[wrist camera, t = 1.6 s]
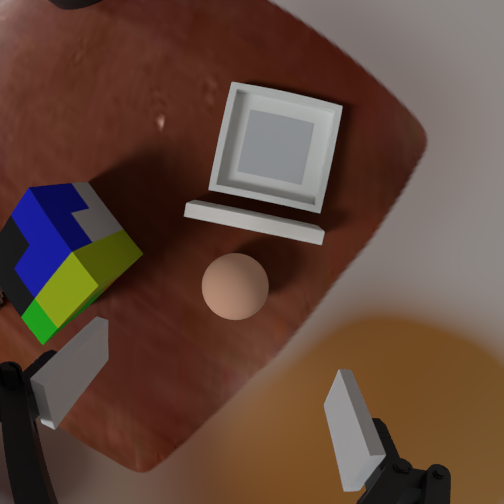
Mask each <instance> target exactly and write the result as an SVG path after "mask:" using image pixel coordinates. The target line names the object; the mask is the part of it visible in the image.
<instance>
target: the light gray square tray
mask: <svg viewBox="0 0 504 504" xmlns="http://www.w3.org/2000/svg"><path fill="white" fill-rule="evenodd" d="M342 107H343V106H340V105H336V104H333V103H329V102H326V101H322V100H318V99H314V98H310V97H306V96H302V95H298V94H293V93H289V92H284V91H280V90H275V89H270V88H265V87H260V86H254V85H248V84H242V83H236V82H232V83H231V87H230V91H229V95H228V100H227V104H226V108H225V113H224V117H223V121H222V126H221V130H220V135H219V140H218V144H217V149H216V154H215V159H214V164H213V169H212V174H211V179H210V184H209V189H208V190H212V191H217V192H222V193H227V194H232V195H237V196H242V197H247V198H252V199H257V200H262V201H266V202H271V203H276V204H280V205H285V206H289V207H294V208H298V209H303V210H307V211H311V212H316V213H320V212H321V208H322V204H323V199H324V195H325V191H326V186H327V182H328V177H329V172H330V168H331V163H332V158H333V153H334V149H335V144H336V139H337V134H338V128H339V123H340V118H341V113H342Z"/></svg>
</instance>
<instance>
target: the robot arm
mask: <svg viewBox="0 0 504 504" xmlns="http://www.w3.org/2000/svg"><path fill="white" fill-rule="evenodd" d="M48 1H50V2H51V3H53V4H54V5H55V6H57V7H59V8H61V9H67V10H71V9H78V8H83V7H86V6H89V5H91V4H94V3H96V2H98V1H100V0H48ZM107 361H108V320H106V319H103V318H99V317H95V318H94V319H93V320H92V321H91V322H90V323H89V324H88V325H87V326H86V327H84V328H83V329H82V330H81V331H80V332H79V333H78V334H77V335H76V336H75V337H74V338H72V339H71V340H70V341H69V342H68V343H67V344H66V345H65V346H64V347H63V348H62V349H61V350H60V351H59V352H56V351H54V350H50V351H47V352H45V353H43V354H42V355H41V356H40V357H39V358H38V359H36V360H35V361H34V362H33V363H32V364H31V365H30V366H29V367H28V368H27V369H26V370H24V371H23V372H22V369H21V366H20V365H19V364H17V363H15V362H10V361H8V362H3V363H1V364H0V422H2V432H3V442H4V450H5V457H6V463H7V469H8V474H9V480H10V484H11V489H12V494H13V498H14V502H15V504H58V501H57V498H56V496H55V492H54V489H53V487H52V483H51V480H50V477H49V473H48V470H47V466H46V463H45V459H44V455H43V452H42V447H41V443H40V438H39V434H38V429H37V424H36V421H35V419H36V418H37V417H38V416H39V415H40V419H41V422H42V423H43V424H45V425H47V426H49V427H50V428H52V429H56V427H57V426H58V425H59V423H60V422H61V421H62V419H63V418H64V417H65V415H66V414H67V413H68V411H69V410H70V409H71V407H72V406H73V405H74V403H75V402H76V401H77V399H78V398H79V397H80V395H81V394H82V393H83V391H84V390H85V389H86V388H87V386H88V385H89V384H90V382H91V381H92V380H93V378H94V377H95V376H96V375H97V373H98V372H99V371H100V370H101V368H102V367H103V366H104V364H105V363H106V362H107ZM324 408H325V412H326V417H327V421H328V425H329V429H330V433H331V437H332V441H333V446H334V450H335V454H336V459H337V463H338V468H339V472H340V476H341V481H342V485H343V490H344V492H346V491H359V490H360V489H361V488H362V486H363V485H364V484H365V487H366V491H365V493H364V494H363V495H362V496H361V497H360V498H359V499H358V501H357V503H356V504H450V490H451V487H450V486H451V475H450V472H449V470H448V469H447V468H446V467H444V466H442V465H440V464H434V465H431V466H430V467H429V468H428V470H419V469H414V468H413V467H412V465H411V464H410V463H409V462H408V461H406V460H405V459H402V458H400V457H399V455H398V452H397V450H396V448H395V445H394V443H393V440H392V439H391V436H390V434H389V431H388V429H387V427H386V425H385V424H384V423H383V422H382V421H381V420H380V419H379V418H371V416H370V413H369V411H368V409H367V406H366V404H365V401H364V399H363V397H362V395H361V392H360V390H359V387H358V385H357V383H356V380H355V378H354V375H353V373H352V371H351V370H344V369H339V370H338V373H337V375H336V378H335V380H334V383H333V385H332V387H331V389H330V392H329V394H328V396H327V399H326V401H325V403H324Z"/></svg>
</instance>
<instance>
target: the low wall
mask: <svg viewBox="0 0 504 504" xmlns="http://www.w3.org/2000/svg"><path fill="white" fill-rule="evenodd" d="M184 217H189V218H194V219H199V220H204V221H209V222H214V223H219V224H224V225H229V226H234V227H238V228H243V229H248V230H253V231H258V232H262V233H267V234H272V235H277V236H281V237H286V238H291V239H295V240H300V241H305V242H309V243H314V244H318V245H322V241H323V237H324V233H325V231H323V230H322V229H321V228H320V227H319V226H318V225H314V224H309V223H305V222H300V221H296V220H291V219H287V218H282V217H278V216H273V215H268V214H264V213H259V212H254V211H249V210H244V209H239V208H235V207H230V206H225V205H220V204H214V203H209V202H204V201H199V200H193V201H190V202H187V203H186V207H185V213H184Z"/></svg>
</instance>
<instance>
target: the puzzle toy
mask: <svg viewBox="0 0 504 504" xmlns="http://www.w3.org/2000/svg"><path fill="white" fill-rule="evenodd" d="M142 255H143V253H142V252H141V250H140V249H139V248H138V247H137V245H136V244H135V243H134V242H133V240H132V239H131V238H130V237H129V235H128V234H127V233H126V232H125V230H124V229H123V228H122V227H121V225H120V224H119V223H118V221H117V220H116V219H115V218H114V216H113V215H112V214H111V212H110V211H109V210H108V208H107V207H106V206H105V205H104V203H103V202H102V201H101V199H100V198H99V197H98V195H97V194H96V192H95V191H94V190H93V188H92V187H91V186H90V184H89V183H88V182H80V183H68V184H57V185H47V186H38V187H29V188H28V190H27V191H26V193H25V194H24V195H23V197H22V198H21V200H20V202H19V203H18V205H17V206H16V208H15V209H14V211H13V212H12V214H11V216H10V217H9V219H8V221H7V222H6V224H5V226H4V227H3V229H2V231H1V233H0V287H1V289H2V290H3V292H4V293H5V295H6V296H7V298H8V299H9V301H10V302H11V304H12V305H13V306H14V308H15V309H16V311H17V312H18V314H19V315H20V316H21V318H22V319H23V320H24V322H25V323H26V324H27V326H28V327H29V328H30V330H31V331H32V332H33V333H34V335H35V336H36V337H37V338H38V340H39V341H40V342H41V343H42V345H44V344H45V343H46V342H47V341H48V340H49V339H50V338H52V337H53V336H54V335H55V334H56V333H57V332H59V331H60V330H61V329H62V328H63V327H64V326H66V325H67V324H68V323H69V322H70V321H72V320H73V319H74V318H75V317H76V316H78V315H79V314H80V313H81V312H82V311H84V310H85V309H86V308H87V307H88V306H90V305H91V304H92V303H93V302H94V301H95V300H96V299H97V298H98V297H99V296H100V295H101V294H102V293H103V292H104V291H105V290H106V289H107V288H108V287H109V286H110V285H111V284H112V283H113V282H114V281H115V280H116V279H117V278H118V277H119V276H120V275H122V274H123V273H124V272H125V271H126V270H127V269H128V268H129V267H130V266H131V265H132V264H133V263H134V262H135V261H136V260H138V259H139V258H140V257H141V256H142Z"/></svg>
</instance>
